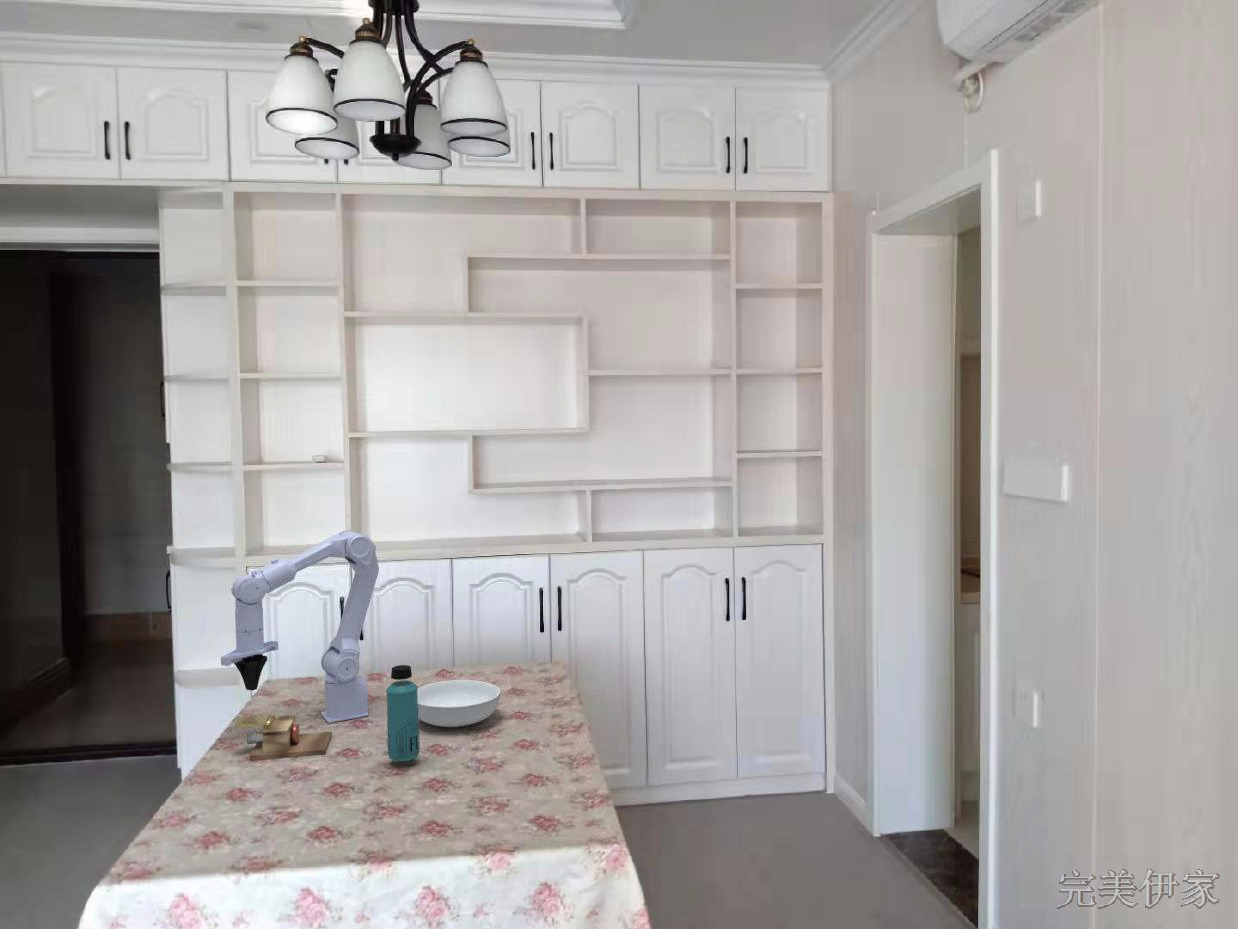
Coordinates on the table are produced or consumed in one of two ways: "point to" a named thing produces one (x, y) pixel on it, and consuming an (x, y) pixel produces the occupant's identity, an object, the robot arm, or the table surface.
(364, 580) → the robot arm
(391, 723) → the beverage bottle
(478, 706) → the serving bowl
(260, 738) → the pin
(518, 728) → the table surface
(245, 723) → the brass hinge flap
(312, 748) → the hitch block
